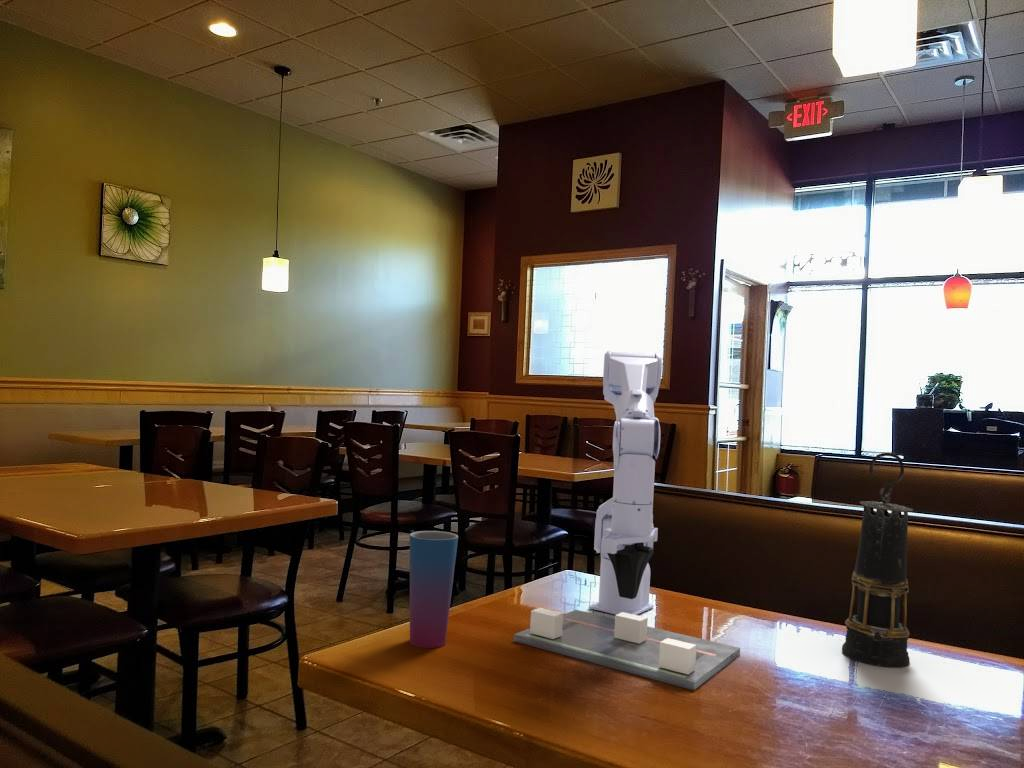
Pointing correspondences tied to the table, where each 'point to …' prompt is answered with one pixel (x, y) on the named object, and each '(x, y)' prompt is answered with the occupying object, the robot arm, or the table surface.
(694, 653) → the block
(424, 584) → the cup
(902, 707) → the table surface
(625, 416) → the robot arm
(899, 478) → the lantern
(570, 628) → the panel
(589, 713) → the table surface
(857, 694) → the table surface
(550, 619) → the breaker
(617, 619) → the breaker mid
